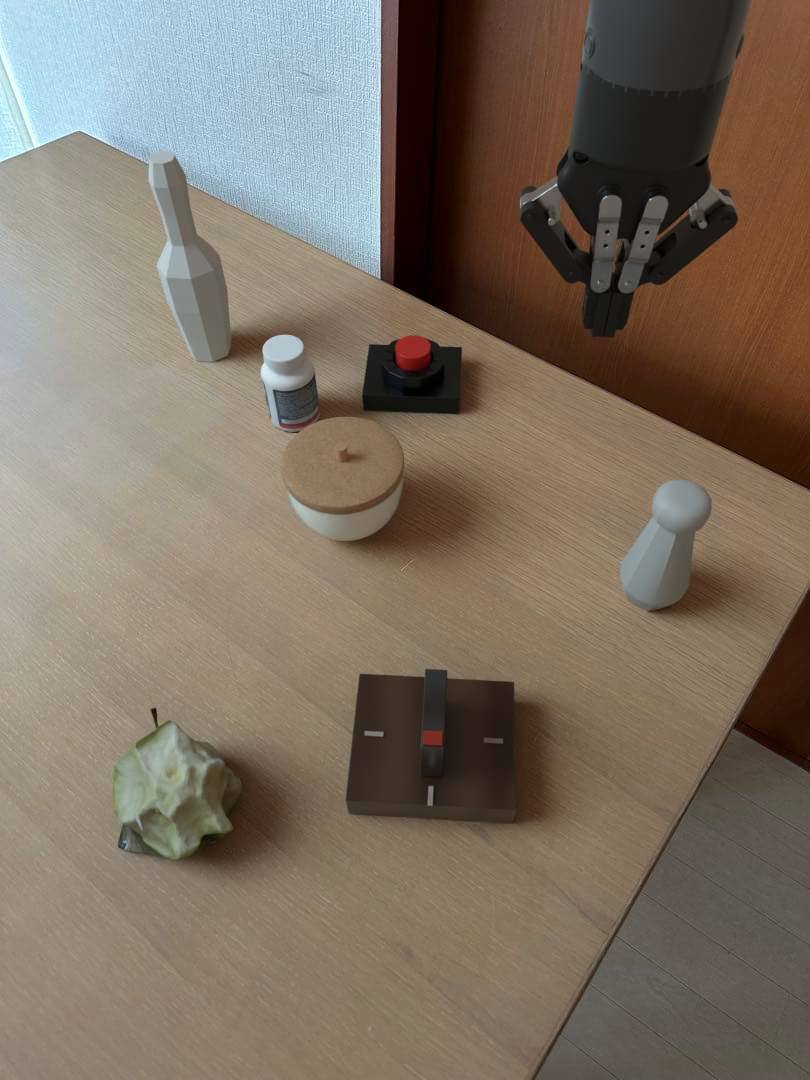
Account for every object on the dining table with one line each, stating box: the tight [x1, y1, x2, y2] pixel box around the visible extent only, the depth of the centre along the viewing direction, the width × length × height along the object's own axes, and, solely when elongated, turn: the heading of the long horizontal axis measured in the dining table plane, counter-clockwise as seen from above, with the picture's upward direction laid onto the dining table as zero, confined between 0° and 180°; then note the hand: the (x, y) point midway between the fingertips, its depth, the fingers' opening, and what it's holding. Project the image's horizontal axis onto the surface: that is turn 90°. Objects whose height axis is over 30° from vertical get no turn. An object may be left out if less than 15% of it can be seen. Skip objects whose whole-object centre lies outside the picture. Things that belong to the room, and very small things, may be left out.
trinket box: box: [280, 416, 405, 542], centre depth 74 cm, size 11×11×9 cm
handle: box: [420, 668, 448, 777], centre depth 59 cm, size 6×2×5 cm, turn 176°
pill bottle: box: [260, 334, 321, 433], centre depth 83 cm, size 5×5×9 cm
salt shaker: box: [619, 478, 713, 612], centre depth 67 cm, size 6×6×13 cm
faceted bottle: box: [148, 150, 233, 363], centre depth 84 cm, size 6×6×22 cm
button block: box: [361, 337, 463, 415], centre depth 87 cm, size 10×8×4 cm
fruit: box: [112, 707, 242, 862], centre depth 59 cm, size 9×9×8 cm
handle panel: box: [345, 673, 517, 825], centre depth 62 cm, size 12×10×3 cm
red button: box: [395, 334, 431, 371], centre depth 85 cm, size 4×4×2 cm
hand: (600, 329), depth 55 cm, fingers closed
